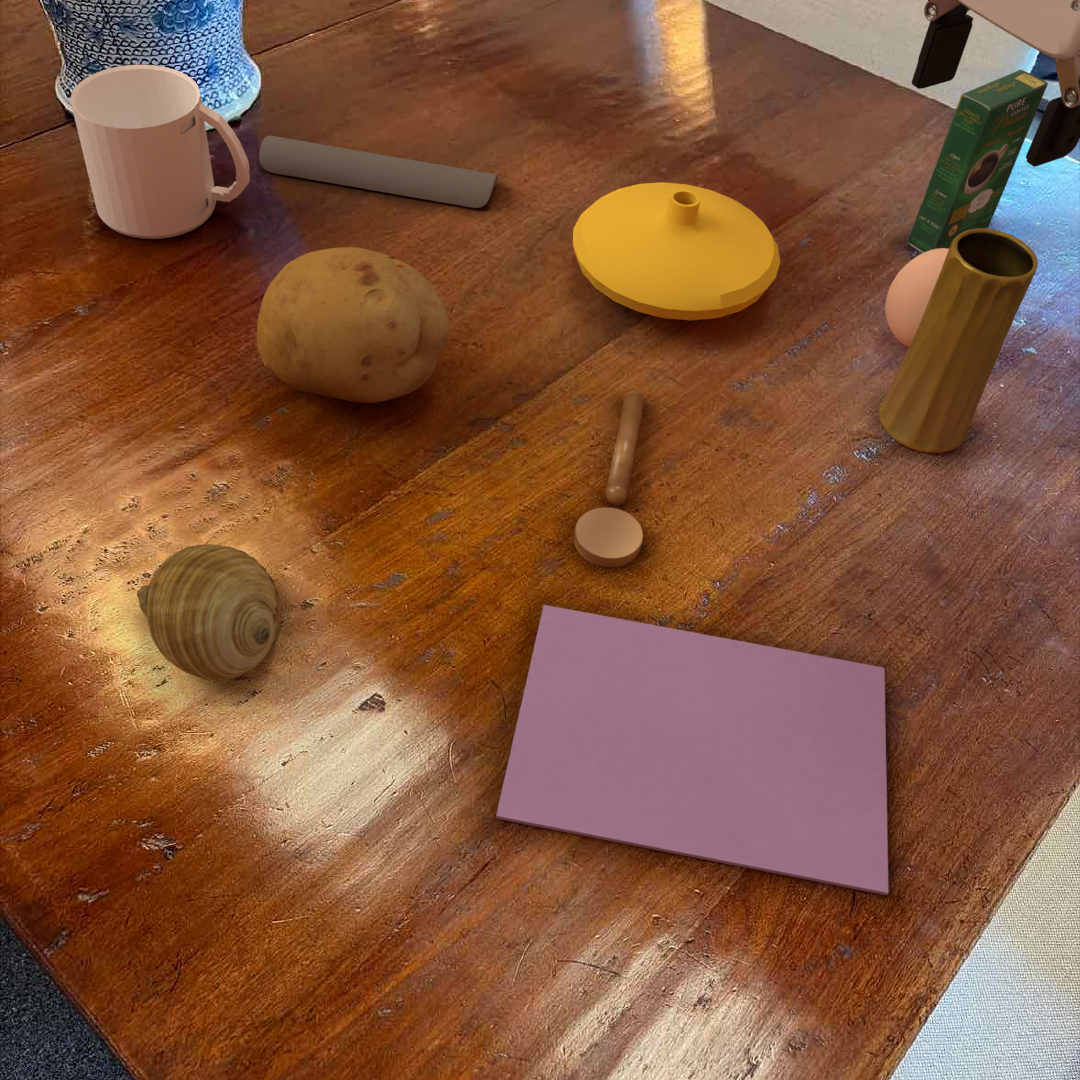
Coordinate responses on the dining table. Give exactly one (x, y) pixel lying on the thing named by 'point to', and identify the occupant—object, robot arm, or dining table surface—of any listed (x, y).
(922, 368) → the vase
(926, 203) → the coffee box
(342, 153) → the half round rod
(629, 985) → the dining table surface
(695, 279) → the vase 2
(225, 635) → the seashell
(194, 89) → the mug
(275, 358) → the potato
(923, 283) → the egg
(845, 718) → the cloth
